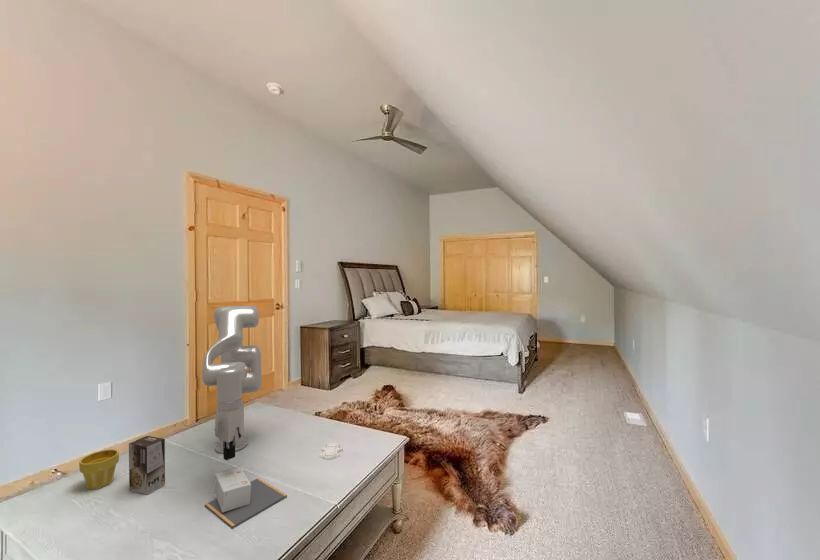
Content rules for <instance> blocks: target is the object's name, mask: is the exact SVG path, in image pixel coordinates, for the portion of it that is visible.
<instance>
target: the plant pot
mask: <svg viewBox="0 0 820 560" xmlns="http://www.w3.org/2000/svg"><path fill="white" fill-rule="evenodd" d="M119 460H120V452H119V450H118V449H114V448H113V449H112V448H111V449H103V450H98V451H94V452H92V453H90V454H88V455H87V454H86V455H85V456H84V457H82V458H81V459H80V460H79V464H78V465H79V472H80V473H81V474H82V476H83V478H84V481H85V484H86V488H87V489H88V490H96V489H100V488H103V487H105V486H108V485H110V484H111V483H112V482H113V479H114V475H115V471H116V468H117V467H116V466H117V464H118V463H119Z"/></svg>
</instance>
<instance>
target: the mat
mask: <svg viewBox="0 0 820 560" xmlns="http://www.w3.org/2000/svg"><path fill="white" fill-rule="evenodd" d="M249 482H250V483H251V496H250V504H248V505H245V506H242V507H239V508H236V509H233V510H229V511H226V512H223V513H222V511H221V508H220V506H219V503H218V501H217V498H215V499H213V500H211V501H209V502H205V504H204V507H205V508H206V509H207V510H209V511H210V512H211V513H212V514H214V515H215V516H216V517H217V518H219V520H221V521H222V522H223V523H225V524H226V525H227V526H228V527H230V528H231V529H233V530H234V528H237V527H238V526H240V525H241V524H243V523H245V522H246V521H248V520H250V519H252V518H253V517H255V516H257V515H258V514H261V513H262V512H264V511H266V510H268V509H269V508H271V507H273V506H275V505H276V504H278V503H280V502H281V501H283V500H284V499H286V498H287V497H288V495H287V493H285V492H283V491H282V490H280V489H278V488H277V487H276V486H274V485H271V484H270V483H269V482H267V481H265V480H263V479H261V478H260V477H257V478H255V479H254V480H250V481H249Z"/></svg>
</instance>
